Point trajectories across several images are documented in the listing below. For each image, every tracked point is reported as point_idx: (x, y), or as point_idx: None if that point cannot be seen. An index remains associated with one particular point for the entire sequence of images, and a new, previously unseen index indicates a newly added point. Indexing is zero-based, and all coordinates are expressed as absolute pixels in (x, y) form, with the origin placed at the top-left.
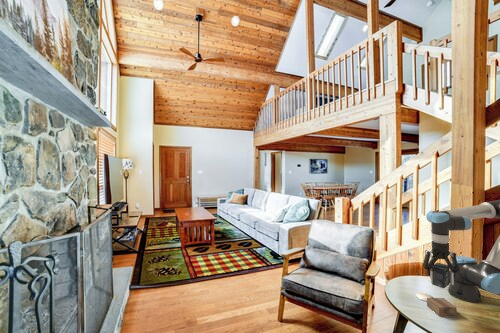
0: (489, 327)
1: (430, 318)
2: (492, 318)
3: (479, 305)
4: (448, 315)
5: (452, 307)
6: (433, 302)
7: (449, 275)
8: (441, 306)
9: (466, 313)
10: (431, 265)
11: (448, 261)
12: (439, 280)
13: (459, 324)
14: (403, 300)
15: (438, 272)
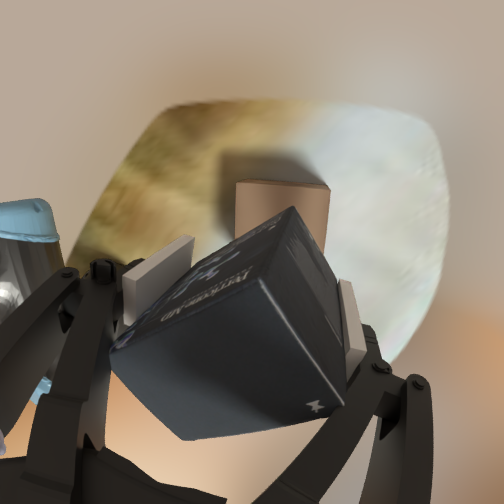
0: (178, 109)
1: (378, 174)
2: (126, 167)
3: (112, 245)
4: (283, 181)
5: (257, 183)
6: (322, 235)
7: (160, 296)
8: (309, 196)
9: (188, 198)
10: (362, 410)
11: (71, 388)
12: (311, 251)
13: (282, 124)
14: (384, 310)
15: (313, 302)
